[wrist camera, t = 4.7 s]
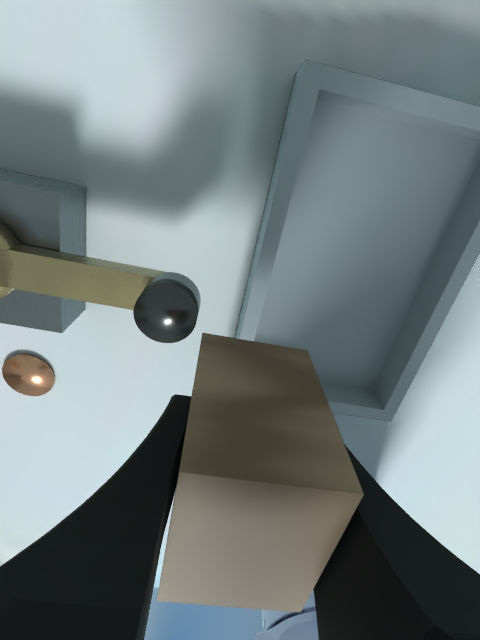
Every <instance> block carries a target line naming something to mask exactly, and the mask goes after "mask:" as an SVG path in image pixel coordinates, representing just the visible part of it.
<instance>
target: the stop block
mask: <svg viewBox="0 0 480 640" xmlns="http://www.w3.org/2000/svg"><path fill="white" fill-rule="evenodd" d="M363 495H364V493H363V491H362V488H361V486H360V483H359V480H358V478H357V475H356V473H355V470H354V468H353V465H352V462H351V460H350V457H349V455H348V452H347V450H346V447H345V445H344V442H343V439H342V437H341V434H340V432H339V429H338V427H337V424H336V422H335V419H334V416H333V414H332V411H331V409H330V406H329V404H328V401H327V399H326V396H325V393H324V391H323V388H322V386H321V383H320V381H319V378H318V375H317V373H316V370H315V368H314V365H313V363H312V360H311V358H310V355H309V352H308V350H303V349H297V348H291V347H285V346H279V345H273V344H267V343H261V342H255V341H249V340H242V339H236V338H230V337H224V336H218V335H212V334H206V333H202V339H201V345H200V351H199V356H198V362H197V368H196V374H195V380H194V385H193V391H192V398H191V404H190V410H189V415H188V421H187V427H186V433H185V439H184V445H183V450H182V456H181V462H180V468H179V474H178V479H177V485H176V491H175V497H174V503H173V508H172V514H171V520H170V526H169V532H168V538H167V544H166V550H165V556H164V561H163V567H162V573H161V579H160V585H159V591H158V598H157V601H162V602H175V603H187V604H188V603H189V604H201V605H213V606H225V607H238V608H251V609H263V610H276V611H288V612H301V611H302V609H303V607H304V605H305V603H306V601H307V600H308V598H309V596H310V594H311V592H312V590H313V588H314V587H315V585H316V583H317V581H318V579H319V577H320V575H321V574H322V572H323V570H324V568H325V566H326V564H327V562H328V560H329V559H330V557H331V555H332V553H333V551H334V549H335V547H336V546H337V544H338V542H339V540H340V538H341V536H342V534H343V532H344V531H345V529H346V527H347V525H348V523H349V521H350V519H351V518H352V516H353V514H354V512H355V510H356V508H357V506H358V505H359V503H360V501H361V499H362V497H363Z"/></svg>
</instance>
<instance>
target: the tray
mask: <svg viewBox="0 0 480 640" xmlns="http://www.w3.org/2000/svg"><path fill="white" fill-rule="evenodd" d="M479 253H480V106H476V105H472V104H468V103H465V102H461V101H457V100H454V99H450V98H446V97H443V96H439V95H435V94H431V93H428V92H424V91H420V90H417V89H413V88H409V87H405V86H402V85H398V84H394V83H391V82H387V81H383V80H380V79H376V78H372V77H368V76H365V75H361V74H357V73H354V72H350V71H346V70H343V69H339V68H335V67H331V66H328V65H324V64H320V63H317V62H313V61H309V60H306V61H305V62H304V63H303V65H302V66H301V67H300V69H299V70H298V71H297V73H296V74H295V78H294V82H293V86H292V91H291V95H290V99H289V104H288V108H287V112H286V117H285V121H284V126H283V130H282V134H281V139H280V143H279V147H278V152H277V156H276V160H275V165H274V169H273V173H272V178H271V182H270V186H269V191H268V195H267V199H266V204H265V208H264V212H263V217H262V221H261V225H260V230H259V234H258V238H257V243H256V247H255V251H254V256H253V260H252V264H251V269H250V273H249V278H248V282H247V286H246V291H245V295H244V299H243V304H242V308H241V312H240V317H239V321H238V325H237V330H236V334H235V338H236V339H242V340H249V341H255V342H261V343H267V344H273V345H279V346H285V347H291V348H297V349H303V350H308V352H309V355H310V358H311V360H312V363H313V365H314V368H315V370H316V373H317V375H318V378H319V381H320V383H321V386H322V388H323V391H324V393H325V396H326V399H327V401H328V404H329V406H330V409H331V411H332V413H339V414H345V415H352V416H358V417H365V418H371V419H378V420H384V421H392V419H393V417H394V415H395V413H396V411H397V409H398V407H399V405H400V403H401V402H402V400H403V398H404V396H405V394H406V392H407V390H408V388H409V386H410V384H411V383H412V381H413V379H414V377H415V375H416V373H417V371H418V369H419V367H420V365H421V364H422V362H423V360H424V358H425V356H426V354H427V352H428V350H429V348H430V346H431V345H432V343H433V341H434V339H435V337H436V335H437V333H438V331H439V329H440V327H441V326H442V324H443V322H444V320H445V318H446V316H447V314H448V312H449V310H450V308H451V306H452V305H453V303H454V301H455V299H456V297H457V295H458V293H459V291H460V289H461V287H462V286H463V284H464V282H465V280H466V278H467V276H468V274H469V272H470V270H471V268H472V267H473V265H474V263H475V261H476V259H477V257H478V255H479Z"/></svg>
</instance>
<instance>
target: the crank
mask: <svg viewBox="0 0 480 640" xmlns="http://www.w3.org/2000/svg"><path fill="white" fill-rule="evenodd" d="M15 289H18V290H23V291H29V292H35V293H40V294H46V295H52V296H57V297H63V298H69V299H74V300H80V301H86V302H91V303H97V304H102V305H108V306H114V307H119V308H125V309H131V310H134V319H135V322H136V324H137V326H138V328H139V329H140V330H141V332H143V333H144V334H145V335H146V336H147V337H149V338H150V339H153V340H155V341H158V342H162V343H174V342H178V341H181V340H183V339H184V338H186V337H187V336H188V335H189V334H190V333H191V332H192V331H193V329H194V327H195V325H196V321H197V316H198V312H199V307H200V294H199V291H198V289H197V287H196V285H195V284H194V283H193V282H192V281H191V280H190V279H189V278H187V277H186V276H184V275H181V274H178V273H173V272H164V271H158V270H153V269H148V268H143V267H137V266H132V265H127V264H122V263H116V262H111V261H106V260H101V259H96V258H90V257H85V256H80V255H75V254H69V253H64V252H59V251H54V250H48V249H43V248H38V247H33V246H27V245H22V244H20V243H19V241H18V240H17V239H16V237H15V236H14V235H13V233H12V232H11V231H10V230H9V229H8V228H7V227H6V226H4V225H3V224H2V223H1V222H0V299H1V298H2V297H4V296H6V295H7V294H9V293H11V292H12V291H14V290H15Z"/></svg>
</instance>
